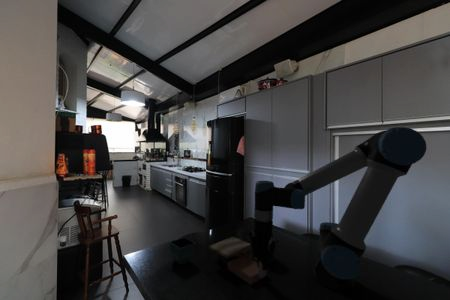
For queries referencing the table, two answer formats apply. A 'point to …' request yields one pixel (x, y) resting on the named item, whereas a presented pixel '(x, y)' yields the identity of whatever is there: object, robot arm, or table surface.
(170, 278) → the table surface
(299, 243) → the table surface
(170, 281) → the table surface
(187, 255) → the flower pot
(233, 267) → the tile
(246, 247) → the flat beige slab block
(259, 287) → the table surface
